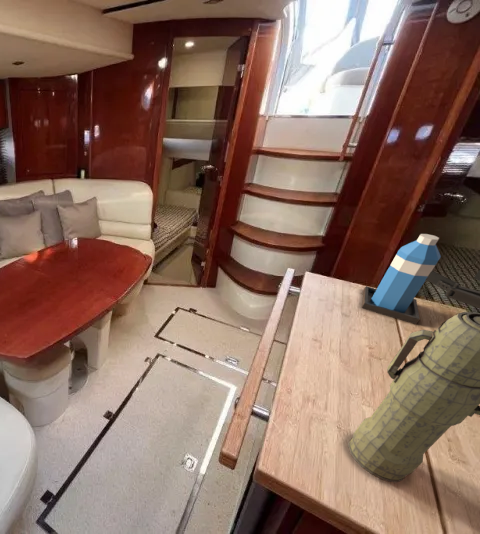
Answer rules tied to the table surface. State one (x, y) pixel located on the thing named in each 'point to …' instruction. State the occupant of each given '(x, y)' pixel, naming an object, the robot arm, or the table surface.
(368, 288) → the dark grey square tray
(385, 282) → the water bottle
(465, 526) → the table surface
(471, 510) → the table surface
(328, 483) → the table surface
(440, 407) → the thermos
